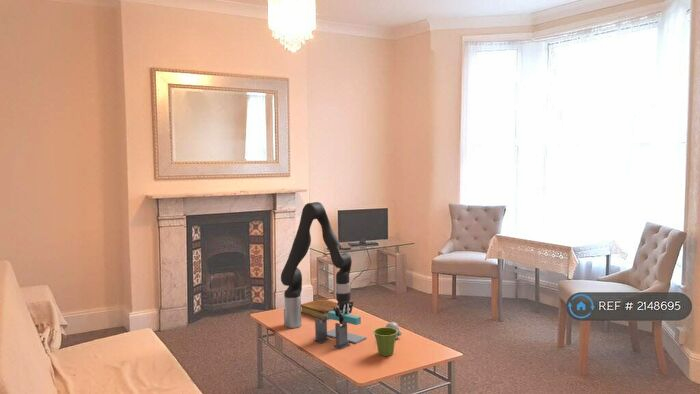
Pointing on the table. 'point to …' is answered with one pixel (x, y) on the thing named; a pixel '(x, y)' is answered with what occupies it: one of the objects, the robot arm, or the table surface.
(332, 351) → the table surface
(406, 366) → the table surface
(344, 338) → the bracket stand
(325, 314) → the diary
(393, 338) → the plant pot
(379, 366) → the table surface
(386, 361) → the table surface
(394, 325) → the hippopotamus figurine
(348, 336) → the rubber mat
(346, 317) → the rail bar
